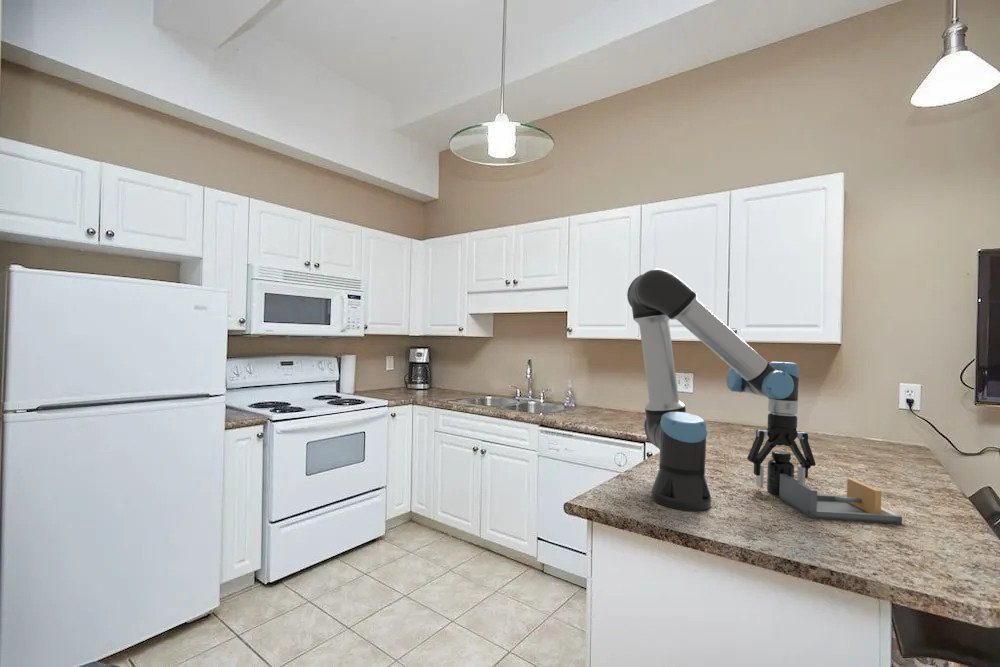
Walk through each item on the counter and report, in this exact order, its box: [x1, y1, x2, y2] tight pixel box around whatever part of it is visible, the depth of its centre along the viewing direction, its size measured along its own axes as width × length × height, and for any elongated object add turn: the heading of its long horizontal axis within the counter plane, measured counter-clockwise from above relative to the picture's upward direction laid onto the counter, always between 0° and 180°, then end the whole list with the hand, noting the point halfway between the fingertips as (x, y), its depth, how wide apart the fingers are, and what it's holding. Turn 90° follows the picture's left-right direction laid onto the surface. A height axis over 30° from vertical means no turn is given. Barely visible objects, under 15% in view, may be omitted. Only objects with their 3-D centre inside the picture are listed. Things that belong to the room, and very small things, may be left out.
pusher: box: [835, 478, 882, 514], centre depth 125 cm, size 8×11×6 cm
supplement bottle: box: [766, 450, 795, 496], centre depth 139 cm, size 7×7×12 cm
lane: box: [778, 474, 903, 525], centre depth 125 cm, size 22×15×7 cm
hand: (780, 487), depth 139 cm, fingers open, 11 cm apart
